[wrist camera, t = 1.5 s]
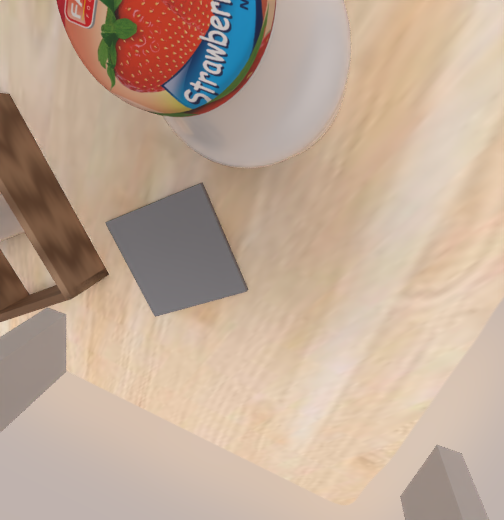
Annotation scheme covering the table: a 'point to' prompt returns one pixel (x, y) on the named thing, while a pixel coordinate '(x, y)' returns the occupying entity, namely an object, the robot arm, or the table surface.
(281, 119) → the fruit juice
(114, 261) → the table surface
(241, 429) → the table surface
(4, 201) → the drinking glass
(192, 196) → the charcoal mat
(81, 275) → the walnut open box frame
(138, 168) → the table surface
